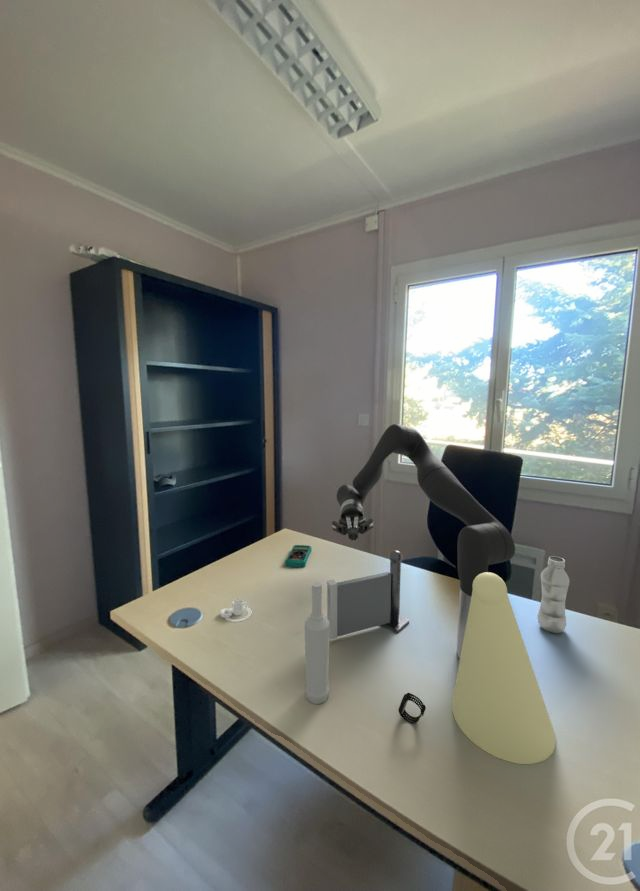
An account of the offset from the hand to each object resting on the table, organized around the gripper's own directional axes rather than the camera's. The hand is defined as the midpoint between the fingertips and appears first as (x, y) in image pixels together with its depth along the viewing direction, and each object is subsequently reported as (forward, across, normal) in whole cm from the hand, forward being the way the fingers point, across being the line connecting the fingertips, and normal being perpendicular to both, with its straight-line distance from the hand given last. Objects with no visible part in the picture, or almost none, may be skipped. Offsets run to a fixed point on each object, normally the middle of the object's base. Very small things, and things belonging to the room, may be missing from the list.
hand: (353, 537), depth 103 cm
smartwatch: (+35, +8, +23) cm, 43 cm away
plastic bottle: (+4, +51, +28) cm, 59 cm away
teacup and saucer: (0, -38, +22) cm, 43 cm away
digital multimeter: (-36, -22, +25) cm, 49 cm away
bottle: (+30, -10, +21) cm, 38 cm away
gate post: (+4, +9, +24) cm, 27 cm away
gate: (+9, 0, +22) cm, 24 cm away
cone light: (+36, +24, +24) cm, 50 cm away
